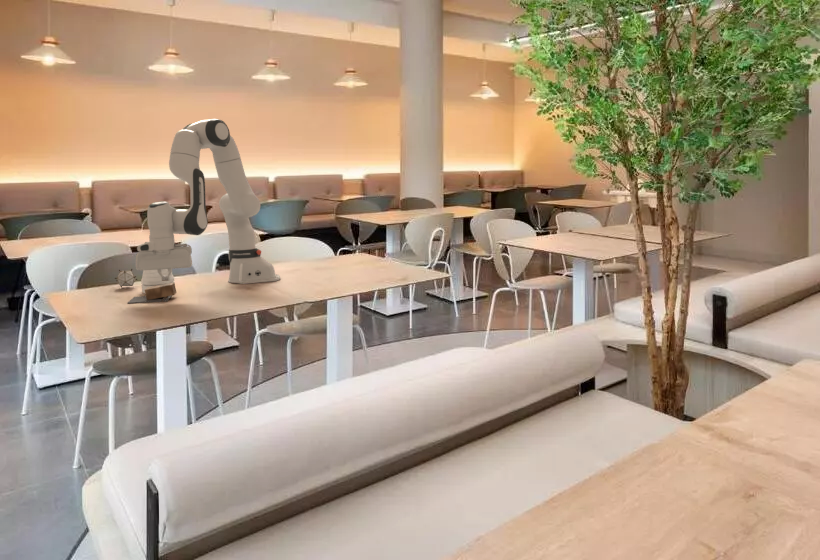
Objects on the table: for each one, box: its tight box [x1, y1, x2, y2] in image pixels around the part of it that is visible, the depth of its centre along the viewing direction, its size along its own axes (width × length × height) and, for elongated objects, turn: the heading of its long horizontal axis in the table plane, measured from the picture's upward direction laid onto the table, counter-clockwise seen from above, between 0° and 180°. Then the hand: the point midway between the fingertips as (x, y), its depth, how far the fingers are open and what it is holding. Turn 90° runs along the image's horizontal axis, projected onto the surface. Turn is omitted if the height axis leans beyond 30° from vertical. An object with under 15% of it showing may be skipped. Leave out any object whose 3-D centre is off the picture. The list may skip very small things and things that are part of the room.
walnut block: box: [145, 283, 177, 300], centre depth 245 cm, size 4×6×10 cm
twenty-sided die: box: [114, 268, 138, 288], centre depth 272 cm, size 9×8×10 cm
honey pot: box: [140, 269, 176, 294], centre depth 261 cm, size 13×13×18 cm
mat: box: [127, 295, 164, 305], centre depth 244 cm, size 12×12×1 cm
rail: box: [162, 296, 172, 303], centre depth 246 cm, size 1×14×1 cm, turn 12°
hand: (166, 280), depth 245 cm, fingers closed
